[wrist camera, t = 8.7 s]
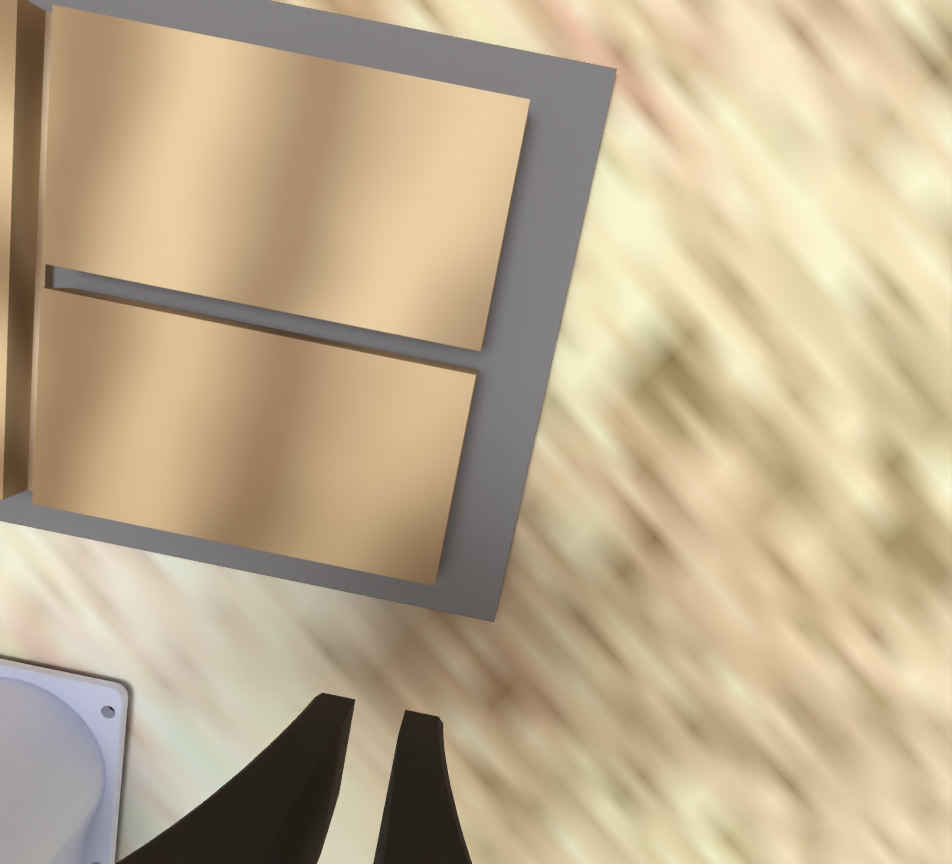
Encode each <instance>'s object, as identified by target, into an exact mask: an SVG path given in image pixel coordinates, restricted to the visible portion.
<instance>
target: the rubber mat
mask: <svg viewBox="0 0 952 864" xmlns="http://www.w3.org/2000/svg"><path fill="white" fill-rule="evenodd" d="M28 1H30V2H31V3H33V4H34V5H36V6H38V7H39V8H41V9H43V10H44V11H46V12H51V13H52V5H57V6H62V7H67V8H72V9H77V10H82V11H87V12H92V13H97V14H102V15H107V16H112V17H117V18H122V19H127V20H132V21H137V22H142V23H147V24H153V25H158V26H163V27H168V28H173V29H178V30H183V31H188V32H193V33H198V34H203V35H208V36H213V37H218V38H223V39H228V40H233V41H238V42H243V43H248V44H253V45H258V46H263V47H269V48H274V49H279V50H284V51H289V52H294V53H299V54H304V55H309V56H314V57H319V58H324V59H329V60H334V61H339V62H344V63H349V64H354V65H359V66H364V67H369V68H374V69H379V70H384V71H390V72H395V73H400V74H405V75H410V76H415V77H420V78H425V79H430V80H435V81H440V82H445V83H450V84H455V85H460V86H465V87H470V88H475V89H480V90H485V91H490V92H495V93H500V94H506V95H511V96H516V97H521V98H526V99H530V104H529V113H528V119H527V124H526V129H525V134H524V139H523V144H522V149H521V154H520V159H519V164H518V170H517V175H516V180H515V185H514V190H513V195H512V200H511V205H510V210H509V215H508V220H507V225H506V231H505V236H504V241H503V246H502V251H501V256H500V261H499V266H498V271H497V276H496V281H495V286H494V292H493V297H492V302H491V307H490V312H489V317H488V322H487V327H486V332H485V337H484V342H483V347H482V350H481V351H476V350H471V349H466V348H461V347H456V346H451V345H446V344H441V343H436V342H431V341H426V340H421V339H416V338H411V337H406V336H401V335H396V334H392V333H387V332H382V331H377V330H372V329H367V328H362V327H357V326H352V325H347V324H342V323H337V322H332V321H327V320H322V319H317V318H312V317H307V316H302V315H297V314H292V313H287V312H282V311H277V310H272V309H267V308H262V307H257V306H252V305H247V304H242V303H237V302H232V301H227V300H222V299H217V298H212V297H207V296H202V295H197V294H192V293H188V292H183V291H178V290H173V289H168V288H163V287H158V286H153V285H148V284H143V283H138V282H133V281H128V280H123V279H118V278H113V277H108V276H103V275H98V274H93V273H88V272H83V271H78V270H73V269H68V268H63V267H58V266H53V288H76V289H81V290H86V291H91V292H96V293H101V294H106V295H111V296H116V297H120V298H125V299H130V300H135V301H140V302H145V303H150V304H155V305H160V306H165V307H170V308H175V309H180V310H185V311H190V312H195V313H200V314H205V315H210V316H215V317H220V318H225V319H230V320H235V321H240V322H245V323H250V324H255V325H260V326H264V327H269V328H274V329H279V330H284V331H289V332H294V333H299V334H304V335H309V336H314V337H319V338H324V339H329V340H334V341H339V342H344V343H349V344H354V345H359V346H364V347H369V348H374V349H379V350H384V351H389V352H394V353H399V354H403V355H408V356H413V357H418V358H423V359H428V360H433V361H438V362H443V363H448V364H453V365H458V366H463V367H468V368H473V369H478V373H477V378H476V383H475V388H474V393H473V398H472V403H471V408H470V413H469V419H468V424H467V429H466V434H465V439H464V444H463V449H462V454H461V459H460V464H459V469H458V475H457V480H456V485H455V490H454V495H453V500H452V505H451V510H450V515H449V520H448V525H447V530H446V536H445V541H444V546H443V551H442V556H441V561H440V566H439V570H438V574H437V578H436V582H435V586H432V585H427V584H422V583H417V582H413V581H408V580H403V579H398V578H393V577H388V576H383V575H378V574H373V573H369V572H364V571H359V570H354V569H349V568H344V567H339V566H334V565H329V564H325V563H320V562H315V561H310V560H305V559H300V558H295V557H290V556H285V555H281V554H276V553H271V552H266V551H261V550H256V549H251V548H246V547H241V546H236V545H232V544H227V543H222V542H217V541H212V540H207V539H202V538H197V537H192V536H188V535H183V534H178V533H173V532H168V531H163V530H158V529H153V528H148V527H144V526H139V525H134V524H129V523H124V522H119V521H114V520H109V519H104V518H100V517H95V516H90V515H85V514H80V513H75V512H70V511H65V510H60V509H55V508H51V507H46V506H41V505H36V504H32V498H33V491H30V490H26V491H23V492H21V493H18V494H16V495H14V496H11V497H9V498H6V499H4V500H1V499H0V521H4V522H8V523H13V524H18V525H23V526H28V527H33V528H38V529H43V530H48V531H52V532H57V533H62V534H67V535H72V536H77V537H82V538H87V539H91V540H96V541H101V542H106V543H111V544H116V545H121V546H126V547H131V548H135V549H140V550H145V551H150V552H155V553H160V554H165V555H170V556H174V557H179V558H184V559H189V560H194V561H199V562H204V563H209V564H213V565H218V566H223V567H228V568H233V569H238V570H243V571H248V572H253V573H257V574H262V575H267V576H272V577H277V578H282V579H287V580H292V581H296V582H301V583H306V584H311V585H316V586H321V587H326V588H331V589H336V590H340V591H345V592H350V593H355V594H360V595H365V596H370V597H375V598H379V599H384V600H389V601H394V602H399V603H404V604H409V605H414V606H419V607H423V608H428V609H433V610H438V611H443V612H448V613H453V614H458V615H462V616H467V617H472V618H477V619H482V620H487V621H492V622H494V620H495V615H496V611H497V606H498V602H499V597H500V593H501V588H502V584H503V579H504V575H505V570H506V566H507V561H508V557H509V552H510V548H511V543H512V539H513V534H514V530H515V525H516V521H517V516H518V512H519V507H520V503H521V498H522V494H523V489H524V485H525V480H526V476H527V471H528V467H529V462H530V458H531V453H532V449H533V444H534V440H535V435H536V431H537V426H538V422H539V417H540V413H541V408H542V404H543V399H544V395H545V390H546V386H547V381H548V377H549V372H550V368H551V363H552V359H553V354H554V350H555V345H556V341H557V336H558V332H559V327H560V323H561V318H562V314H563V309H564V305H565V300H566V296H567V291H568V287H569V282H570V278H571V273H572V268H573V264H574V259H575V255H576V250H577V246H578V241H579V237H580V232H581V228H582V223H583V219H584V214H585V210H586V205H587V201H588V196H589V192H590V187H591V183H592V178H593V174H594V169H595V165H596V160H597V156H598V151H599V147H600V142H601V138H602V133H603V129H604V124H605V120H606V115H607V111H608V106H609V102H610V97H611V93H612V88H613V84H614V79H615V75H616V70H617V69H615V68H610V67H605V66H600V65H595V64H590V63H585V62H580V61H574V60H569V59H564V58H559V57H554V56H549V55H544V54H539V53H534V52H529V51H524V50H519V49H514V48H508V47H503V46H498V45H493V44H488V43H483V42H478V41H473V40H468V39H463V38H458V37H453V36H448V35H442V34H437V33H432V32H427V31H422V30H417V29H412V28H407V27H402V26H397V25H392V24H387V23H382V22H377V21H371V20H366V19H361V18H356V17H351V16H346V15H341V14H336V13H331V12H326V11H321V10H316V9H311V8H305V7H300V6H295V5H290V4H285V3H280V2H275V1H270V0H28Z"/></svg>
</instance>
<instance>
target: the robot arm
mask: <svg viewBox="0 0 952 864" xmlns="http://www.w3.org/2000/svg"><path fill="white" fill-rule="evenodd" d="M354 704H355V699H350V698H345V697H340V696H336V695H331V694H326V693H321V694H320V695H318V696H316V697H315V698H314V699H313V700H312V702H311V703H310V704H309V705H308V706H307V707H306V708H305V709H304V710H303V712H302V713H301V714H300V715H299V716H298V717H297V718H296V719H295V720H294V721H293V722H292V723H291V724H290V725H289V726H288V727H287V728H286V729H285V730H284V731H283V732H282V733H281V734H280V735H279V736H278V737H277V738H276V739H275V740H274V741H273V742H272V743H271V744H270V745H269V746H268V747H267V748H265V749H264V750H263V751H262V752H261V753H260V754H259V755H258V756H257V757H256V758H255V759H254V760H253V761H251V762H250V763H249V764H248V765H247V766H246V767H245V768H244V769H243V770H241V771H240V772H239V773H238V774H237V775H236V776H234V777H233V778H232V779H231V780H230V781H228V782H227V783H226V784H225V785H223V786H222V787H221V788H220V789H219V790H217V791H216V792H215V793H214V794H213V795H211V796H210V797H209V798H208V799H207V800H205V801H204V802H203V803H202V804H200V805H199V806H198V807H196V808H195V809H194V810H193V811H191V812H190V813H189V814H187V815H186V816H185V817H183V818H182V819H181V820H179V821H178V822H176V823H175V824H174V825H172V826H171V827H170V828H168V829H167V830H165V831H164V832H162V833H161V834H160V835H158V836H157V837H155V838H154V839H153V840H151V841H150V842H148V843H147V844H145V845H144V846H142V847H141V848H139V849H137V850H136V851H134V852H133V853H131V854H130V855H128V856H127V857H125V858H123V859H122V860H120V861H119V862H117V863H116V864H317V862H318V859H319V857H320V854H321V851H322V848H323V845H324V842H325V838H326V835H327V832H328V829H329V825H330V822H331V819H332V815H333V812H334V809H335V805H336V802H337V799H338V795H339V790H340V785H341V779H342V773H343V767H344V762H345V756H346V750H347V744H348V738H349V733H350V727H351V721H352V715H353V710H354ZM108 706H110V707H112V708H113V709H114V710H115V711H112V710H111V709H110V708H109V707H108ZM127 706H128V692H127V690H126V689H125V687H123V686H122V685H121V684H119V683H116V682H111V681H106V680H102V679H97V678H92V677H87V676H82V675H77V674H73V673H68V672H63V671H58V670H53V669H48V668H44V667H39V666H34V665H29V664H24V663H19V662H14V661H10V660H5V659H0V864H115V852H116V840H117V828H118V816H119V803H120V791H121V779H122V767H123V755H124V742H125V730H126V718H127ZM373 864H472V862H471V859H470V856H469V853H468V849H467V846H466V843H465V840H464V837H463V833H462V830H461V826H460V823H459V819H458V815H457V811H456V807H455V803H454V798H453V794H452V790H451V786H450V781H449V776H448V770H447V764H446V758H445V751H444V741H443V723H442V721H441V720H440V718H439V717H437V716H433V715H428V714H423V713H418V712H413V711H408V710H405V713H404V717H403V720H402V724H401V727H400V731H399V735H398V739H397V745H396V750H395V755H394V760H393V765H392V770H391V776H390V781H389V786H388V791H387V796H386V801H385V807H384V812H383V817H382V822H381V827H380V832H379V838H378V843H377V848H376V853H375V858H374V863H373Z"/></svg>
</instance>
